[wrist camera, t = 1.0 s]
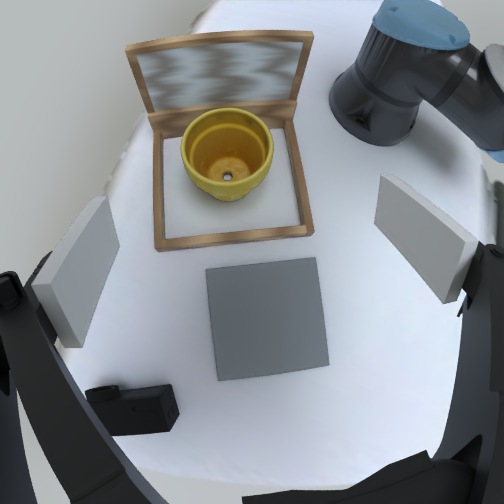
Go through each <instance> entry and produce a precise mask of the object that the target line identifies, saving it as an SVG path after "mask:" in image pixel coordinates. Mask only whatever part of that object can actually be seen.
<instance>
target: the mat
mask: <svg viewBox="0 0 504 504" xmlns="http://www.w3.org/2000/svg"><path fill="white" fill-rule="evenodd" d="M206 279H207V289H208V299H209V308H210V317H211V326H212V335H213V343H214V351H215V359H216V367H217V374H218V381H223V380H233V379H243V378H251V377H259V376H267V375H274V374H281V373H287V372H294V371H300V370H306V369H311V368H317V367H322V366H328V365H329V357H328V348H327V339H326V330H325V322H324V314H323V306H322V299H321V292H320V284H319V278H318V271H317V264H316V258H315V257H314V258H305V259H296V260H287V261H278V262H269V263H260V264H250V265H241V266H232V267H222V268H213V269H206Z"/></svg>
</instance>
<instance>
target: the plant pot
mask: <svg viewBox="0 0 504 504" xmlns="http://www.w3.org/2000/svg"><path fill="white" fill-rule="evenodd" d="M273 151H274V143H273V138H272V135H271V133H270V131H269V129H268V127H267V126H266V124H265V123H264V122H263V121H262V120H261V119H260V118H258V117H257V116H255V115H254V114H252V113H250V112H248V111H245V110H242V109H238V108H219V109H215V110H211V111H208V112H206V113H204V114H202V115H200V116H199V117H197V118H196V119H195V120H194V121H193V122H192V123H191V124H190V125H189V126H188V127H187V129H186V130H185V132H184V135H183V137H182V141H181V156H182V160H183V163H184V166H185V169H186V171H187V173H188V175H189V177H190V178H191V180H192V181H193V182H194V183H195V184H196V185H197V186H198V187H199V188H201V189H202V190H204V191H206V192H208V193H210V194H211V195H212V196H213V197H215V198H217V199H219V200H222V201H236V200H239V199H241V198H243V197H244V196H246V195H247V194H248V193H249V192H250V190H252V189H253V188H255V187H256V186H257V185H259V184H260V183H261V182H262V181H263V179H264V178H265V176H266V175H267V173H268V171H269V168H270V165H271V162H272V157H273ZM227 173H228V174H231V175H232V179H231V180H229V181H226V180H224V179H223V176H224V174H227Z"/></svg>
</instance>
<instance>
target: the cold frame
mask: <svg viewBox="0 0 504 504" xmlns="http://www.w3.org/2000/svg"><path fill="white" fill-rule="evenodd" d="M313 39H314V35H313V32H312V31H295V30H243V31H224V32H211V33H201V34H192V35H184V36H176V37H170V38H163V39H157V40H152V41H146V42H142V43H136V44H132V45H127V46H126V49H125V52H126V55H127V58H128V61H129V64H130V67H131V69H132V72H133V75H134V78H135V80H136V83H137V85H138V88H139V91H140V94H141V97H142V99H143V102H144V104H145V107H146V110H147V113H148V119H149V122H150V124H151V127H152V129H153V132H154V144H153V214H154V242H155V249H156V250H157V251H158V252H161V251H170V250H179V249H188V248H198V247H207V246H217V245H226V244H236V243H245V242H255V241H265V240H275V239H285V238H295V237H305V236H311V235H312V234H313V233H314V226H313V221H312V215H311V209H310V204H309V198H308V193H307V188H306V183H305V177H304V172H303V167H302V162H301V158H300V153H299V148H298V143H297V139H296V134H295V130H294V125H293V121H292V120H293V117H294V113H295V110H296V106H297V101H296V100H297V96H298V93H299V89H300V86H301V82H302V79H303V75H304V72H305V68H306V64H307V61H308V57H309V54H310V50H311V47H312V43H313ZM219 108H238V109H242V110H245V111H248V112H250V113H252V114H254V115H255V116H257V117H258V118H260V119H261V120H262V121H263V122H264V123H265V124H266V126H267V127H268V129H270V128H284V131H285V136H286V141H287V146H288V152H289V157H290V162H291V167H292V173H293V178H294V184H295V189H296V195H297V200H298V206H299V212H300V218H301V224H302V225H300V226H289V227H278V228H268V229H258V230H248V231H238V232H228V233H218V234H209V235H200V236H191V237H181V238H173V239H165V224H164V195H163V139H166V138H173V137H181V136H183V135H184V132H185V130H186V129H187V127H188V126H189V125H190V124H191V123H192V122H193V121H194V120H195V119H196V118H197V117H199V116H200V115H202V114H204V113H206V112H208V111H211V110H215V109H219Z"/></svg>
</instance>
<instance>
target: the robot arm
mask: <svg viewBox="0 0 504 504" xmlns="http://www.w3.org/2000/svg"><path fill="white" fill-rule="evenodd" d="M372 22H373V23H372V25H371V27H370V30H369V32H368V34H367V36H366V39H365V41H364V43H363V46H362V48H361V50H360V52H359V54H358V57H357V59H356V61H355V63H354V64H353V65H351V66H350V67H349V68H348V69H347V70H346V71H345V72H343V73H342V74H341V75H339V76H338V77H337V79H336V80H335V82H334V84H333V86H332V89H331V91H330V96H329V101H330V106H331V109H332V111H333V113H334V115H335V117H336V118H337V120H338V121H339V122H340V123H341V125H342V126H343V127H344V128H345V129H346V130H348V131H349V132H350V133H351V134H353V135H354V136H356V137H357V138H359V139H361V140H363V141H365V142H368V143H371V144H374V145H379V146H392V145H396V144H398V143H400V142H402V141H403V140H404V139H405V138H406V137H407V136H408V135H409V134H410V132H411V131H412V129H413V127H414V124H415V119H416V116H417V113H418V109H419V105H420V103H421V102H422V100H423V99H424V100H426V101H427V102H428V103H430V104H431V105H432V106H433V107H435V108H436V109H437V110H438V111H440V112H441V113H442V114H443V115H444V116H446V117H447V118H448V119H449V120H450V121H451V122H452V123H454V124H455V125H456V126H457V127H458V128H459V129H460V130H461V131H463V132H464V133H465V134H466V135H467V136H468V137H469V138H470V139H471V140H472V141H473V142H474V143H475V144H476V146H477V147H479V148H480V149H481V150H483V151H485V152H486V153H487V154H488V155H489V156H490V157H491V158H492V159H494V160H496V161H497V162H500V163H504V46H503V45H498V44H490V45H489V46H487V47H486V49H485V50H484V51H483V52H480V51H479V50H478V49H477V48H475V47H474V46H473V45H472V44H471V43H469V42H470V39H469V38H470V34H469V31H468V29H467V28H466V26H465V25H464V24H463V23H462V22H461V21H459V20H458V18H457V17H456V16H455V15H454V14H452V13H451V12H449V11H448V10H446V9H445V8H443V7H441V6H440V5H438V4H436V3H434V2H431V1H429V0H384V1H383V3H382V5H381V7H380V8H379V10H378V12H377V14H375V15H374V17H373V21H372ZM374 224H375V225H376V226H377V227H378V229H379V230H380V231H381V232H382V233H383V234H384V235H385V236H386V237H387V238H388V239H389V241H390V242H391V243H392V244H393V245H394V246H395V247H396V248H397V250H398V251H399V252H400V253H401V254H402V255H403V256H404V257H405V259H406V260H407V261H408V262H409V263H410V264H411V266H412V267H413V268H414V269H415V270H416V272H417V273H418V274H419V275H420V276H421V277H422V279H423V280H424V281H425V282H426V284H427V285H428V286H429V287H430V288H431V290H432V291H433V292H434V293H435V295H436V296H437V297H438V298H439V300H440V301H441V302H442V304H446V303H450V302H454V301H457V299H458V296H459V294H460V291H461V289H463V290H464V291H465V292H466V293H467V294H466V297H465V299H464V301H463V304H462V306H461V308H460V310H459V312H458V315H457V317H460V314H462V313H463V318H462V330H461V341H460V350H459V358H458V365H457V372H456V378H455V384H454V390H453V395H452V400H451V405H450V410H449V414H448V419H447V423H446V427H445V431H444V435H443V439H442V442H441V444H440V446H439V448H438V450H437V452H436V453H435V455H434V456H433V458H430V457H429V455H428V453H427V450H425V451H422V452H420V453H417V454H415V455H412V456H410V457H407V458H405V459H402V460H400V461H397V462H394V463H391V464H389V465H387V466H385V467H384V468H382V469H381V470H379V471H377V472H376V473H374V474H373V475H371V476H369V477H368V478H366V479H364V480H362V481H361V482H359V483H357V484H356V485H354V486H352V487H350V488H348V489H344V490H322V491H321V490H289V491H283V492H276V493H270V494H262V495H253V496H244V497H242V503H243V504H504V248H502V247H500V246H498V245H494V244H487V245H485V246H484V245H483V244H482V243H481V242H480V241H479V240H478V239H477V238H476V237H474V236H473V235H472V234H471V233H470V232H469V231H467V230H466V229H465V228H464V227H463V226H461V225H460V224H459V223H458V222H456V221H455V220H454V219H453V218H451V217H450V216H449V215H448V214H446V213H445V212H444V211H443V210H441V209H440V208H439V207H437V206H436V205H435V204H434V203H432V202H431V201H430V200H428V199H427V198H426V197H424V196H423V195H421V194H420V193H419V192H417V191H416V190H415V189H413V188H412V187H410V186H409V185H408V184H406V183H405V182H403V181H402V180H400V179H399V178H398V177H396V176H395V175H381V177H380V185H379V193H378V200H377V207H376V214H375V220H374ZM119 248H120V245H119V241H118V237H117V234H116V230H115V226H114V222H113V218H112V214H111V209H110V205H109V201H108V196H100V197H94V198H92V199H91V201H90V202H89V203H88V204H87V206H86V207H85V208H84V209H83V211H82V212H81V213H80V215H79V216H78V217H77V219H76V220H75V221H74V223H73V224H72V225H71V227H70V228H69V229H68V231H67V232H66V234H65V235H64V236H63V238H62V239H61V240H60V242H59V243H58V245H57V246H56V248H55V249H54V251H51V252H49V253H48V254H47V255H46V256H45V257H44V258H42V260H41V261H40V263H39V264H38V266H37V268H36V269H35V270H34V272H33V275H31V276H30V278H29V279H28V281H27V282H26V284H25V286H24V287H23V286H22V284H21V282H20V279H19V277H18V275H17V273H16V272H13V271H8V272H4V273H2V274H0V504H37V500H36V497H35V493H34V490H33V486H32V482H31V478H30V474H29V469H28V465H27V460H26V456H25V450H24V445H23V439H22V433H21V426H20V419H19V411H18V401H17V391H18V393H19V396H20V399H21V401H22V404H23V407H24V409H25V411H26V414H27V416H28V419H29V422H30V424H31V426H32V428H33V430H34V433H35V435H36V437H37V440H38V442H39V444H40V446H41V448H42V450H43V452H44V454H45V456H46V458H47V460H48V462H49V464H50V466H51V468H52V469H53V471H54V473H55V475H56V477H57V478H58V480H59V482H60V484H61V485H62V487H63V489H64V490H65V492H66V494H67V495H68V497H69V499H70V503H71V504H169V503H168V502H166V500H164V499H163V497H162V496H161V495H160V494H159V493H158V492H157V491H156V490H155V489H154V488H153V487H152V486H151V485H150V483H149V482H148V481H147V480H146V479H145V478H144V477H143V476H142V475H141V473H140V472H139V471H138V470H137V468H136V467H135V466H134V465H133V464H132V462H131V461H130V460H129V459H128V457H127V456H126V455H125V454H124V452H123V451H122V450H121V448H120V447H119V446H118V445H117V443H116V442H115V441H114V439H113V438H112V437H111V435H110V434H109V432H108V431H107V430H106V428H105V427H104V425H103V424H102V423H101V421H100V420H99V418H98V417H97V415H96V414H95V412H94V411H93V409H92V408H91V406H90V405H89V403H88V402H87V400H86V398H85V397H84V395H83V394H82V392H81V390H80V389H79V387H78V386H77V384H76V382H75V381H74V379H73V377H72V375H71V374H70V372H69V370H68V368H67V367H66V365H65V363H64V361H63V359H62V357H61V356H60V354H59V352H58V350H57V348H56V347H55V345H54V344H55V341H56V339H57V336H58V338H59V339H60V341H61V343H62V345H63V346H64V348H83V345H84V341H85V338H86V335H87V332H88V329H89V326H90V323H91V320H92V317H93V315H94V312H95V309H96V306H97V303H98V301H99V298H100V295H101V292H102V290H103V287H104V285H105V282H106V279H107V277H108V274H109V272H110V269H111V267H112V264H113V262H114V260H115V257H116V255H117V252H118V250H119ZM16 388H17V390H16Z"/></svg>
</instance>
